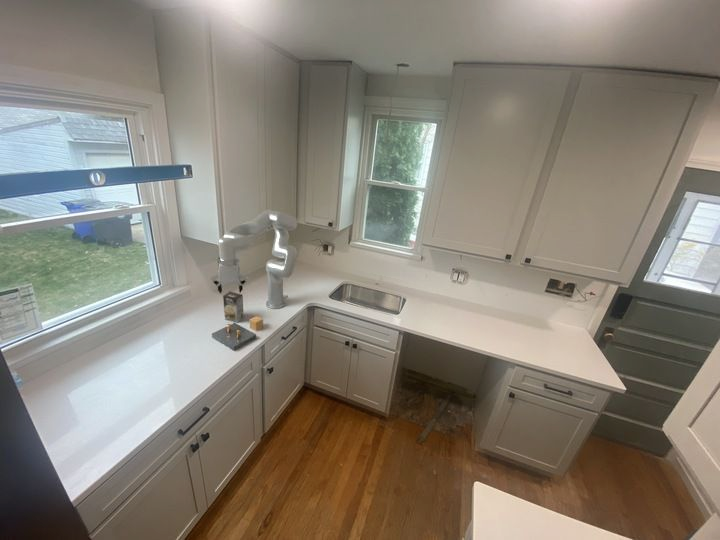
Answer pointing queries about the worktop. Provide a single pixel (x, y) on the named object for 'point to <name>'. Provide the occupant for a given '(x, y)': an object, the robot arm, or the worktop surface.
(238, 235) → the robot arm
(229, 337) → the plate
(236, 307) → the coffee box
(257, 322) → the tan cardboard cube
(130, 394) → the worktop surface
